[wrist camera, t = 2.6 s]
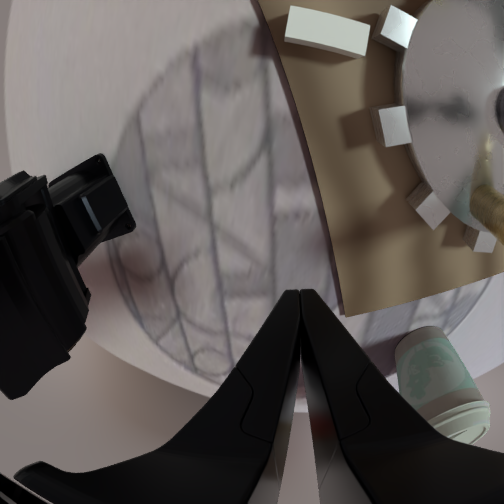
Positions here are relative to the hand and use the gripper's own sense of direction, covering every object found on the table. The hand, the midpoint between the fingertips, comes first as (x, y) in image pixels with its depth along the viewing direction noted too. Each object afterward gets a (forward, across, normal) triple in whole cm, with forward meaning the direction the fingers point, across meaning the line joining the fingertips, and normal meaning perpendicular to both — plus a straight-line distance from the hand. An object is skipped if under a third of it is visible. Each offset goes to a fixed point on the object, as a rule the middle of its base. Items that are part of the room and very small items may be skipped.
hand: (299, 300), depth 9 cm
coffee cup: (+12, -13, +18) cm, 25 cm away
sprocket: (+12, -16, -6) cm, 21 cm away
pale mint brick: (+12, -3, -9) cm, 15 cm away
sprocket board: (+12, -16, -6) cm, 21 cm away
